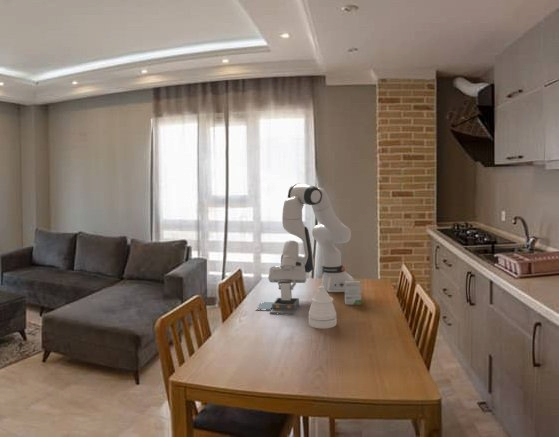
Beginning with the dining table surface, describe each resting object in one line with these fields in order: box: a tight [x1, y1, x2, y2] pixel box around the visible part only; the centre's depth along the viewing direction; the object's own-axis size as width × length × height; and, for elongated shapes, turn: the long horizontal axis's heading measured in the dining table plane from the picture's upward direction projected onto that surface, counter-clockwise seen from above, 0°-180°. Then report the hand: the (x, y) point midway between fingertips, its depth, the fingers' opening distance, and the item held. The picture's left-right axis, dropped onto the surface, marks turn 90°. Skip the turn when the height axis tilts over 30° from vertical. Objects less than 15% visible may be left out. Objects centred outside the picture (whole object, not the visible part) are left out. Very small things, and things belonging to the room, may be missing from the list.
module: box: [280, 279, 293, 300], centre depth 221 cm, size 5×5×10 cm
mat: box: [256, 301, 274, 311], centre depth 224 cm, size 8×12×1 cm, turn 167°
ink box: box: [344, 280, 362, 306], centre depth 225 cm, size 9×5×12 cm, turn 84°
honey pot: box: [308, 285, 338, 329], centre depth 195 cm, size 13×13×18 cm
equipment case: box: [269, 297, 300, 316], centre depth 219 cm, size 12×17×4 cm
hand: (285, 289), depth 220 cm, fingers closed on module, 5 cm apart
